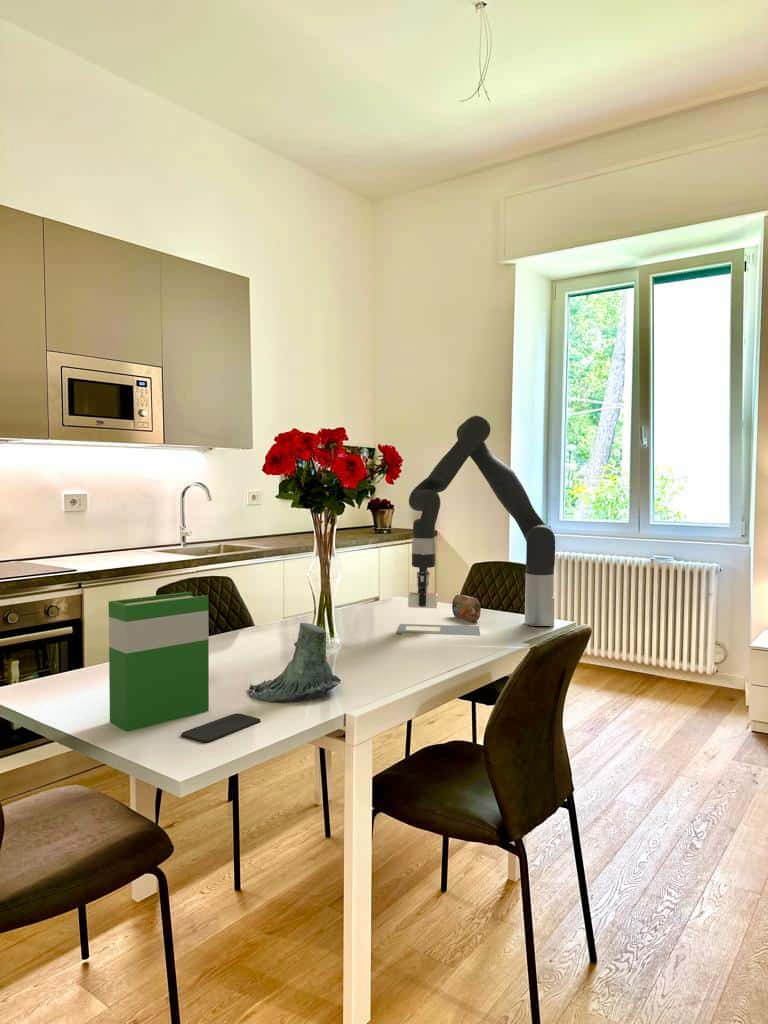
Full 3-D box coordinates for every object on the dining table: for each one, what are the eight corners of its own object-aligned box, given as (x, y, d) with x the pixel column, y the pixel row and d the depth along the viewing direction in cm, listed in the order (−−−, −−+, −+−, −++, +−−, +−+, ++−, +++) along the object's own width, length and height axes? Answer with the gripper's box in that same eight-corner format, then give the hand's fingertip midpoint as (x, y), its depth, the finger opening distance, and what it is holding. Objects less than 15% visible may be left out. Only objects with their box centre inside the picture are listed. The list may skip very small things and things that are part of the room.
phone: (263, 719, 142) (206, 741, 129) (263, 723, 142) (206, 746, 129) (236, 712, 146) (178, 733, 133) (236, 716, 146) (178, 737, 133)
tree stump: (259, 680, 172) (278, 608, 172) (338, 703, 170) (357, 631, 170) (236, 699, 154) (257, 619, 154) (325, 726, 152) (346, 645, 152)
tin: (451, 616, 252) (451, 592, 252) (458, 615, 253) (459, 592, 253) (474, 624, 238) (474, 599, 238) (482, 623, 240) (482, 598, 239)
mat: (479, 627, 234) (479, 625, 234) (480, 636, 220) (480, 635, 220) (399, 625, 236) (399, 623, 236) (396, 634, 222) (396, 632, 222)
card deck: (409, 604, 231) (409, 592, 231) (437, 605, 230) (437, 592, 230) (408, 607, 226) (408, 594, 226) (436, 608, 225) (436, 595, 225)
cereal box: (190, 702, 153) (189, 591, 152) (208, 711, 148) (208, 595, 147) (109, 722, 141) (108, 601, 139) (126, 731, 135) (125, 606, 134)
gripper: (413, 549, 235) (412, 600, 236) (410, 554, 221) (409, 608, 222) (436, 549, 234) (435, 601, 235) (434, 554, 220) (433, 609, 221)
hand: (422, 604), depth 228 cm, fingers closed on card deck, 5 cm apart
